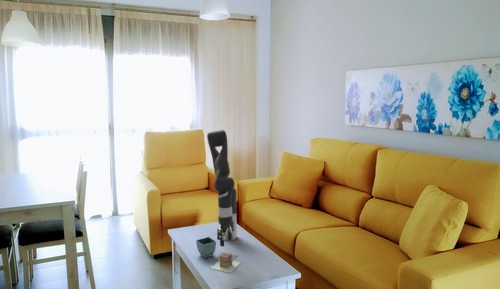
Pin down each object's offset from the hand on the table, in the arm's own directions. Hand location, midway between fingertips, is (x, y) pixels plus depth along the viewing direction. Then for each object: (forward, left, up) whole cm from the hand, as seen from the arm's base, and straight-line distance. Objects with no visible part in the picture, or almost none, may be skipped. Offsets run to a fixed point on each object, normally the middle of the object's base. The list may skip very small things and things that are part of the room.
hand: (226, 243), depth 204 cm
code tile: (-9, -5, -13) cm, 17 cm away
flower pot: (-7, -17, -13) cm, 23 cm away
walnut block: (0, 0, -13) cm, 13 cm away
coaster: (0, 0, -13) cm, 13 cm away
